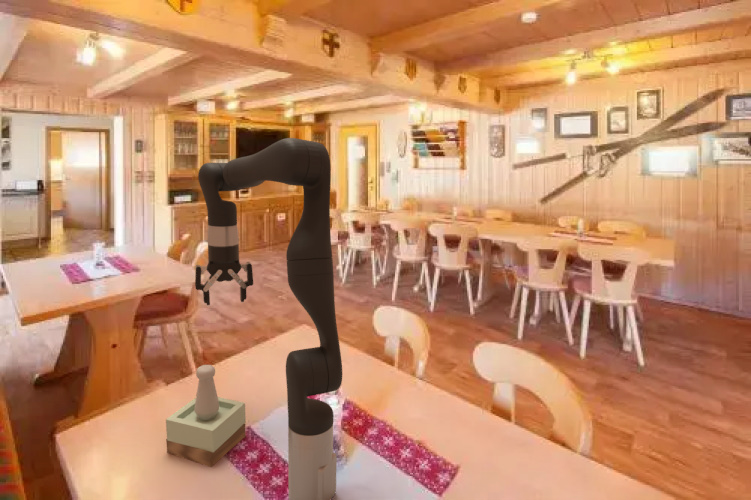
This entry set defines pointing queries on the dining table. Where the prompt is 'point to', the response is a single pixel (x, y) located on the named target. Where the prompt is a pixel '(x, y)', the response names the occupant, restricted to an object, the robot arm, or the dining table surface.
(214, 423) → the top block
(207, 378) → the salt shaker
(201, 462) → the base block
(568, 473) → the dining table surface
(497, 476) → the dining table surface
